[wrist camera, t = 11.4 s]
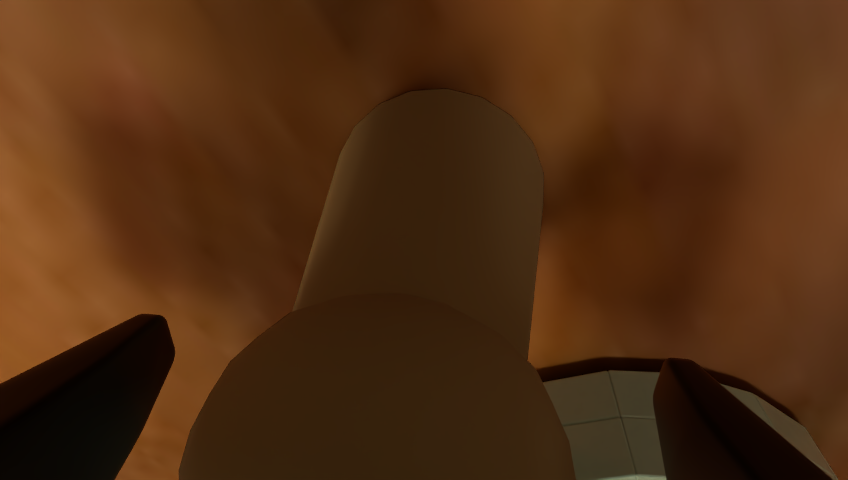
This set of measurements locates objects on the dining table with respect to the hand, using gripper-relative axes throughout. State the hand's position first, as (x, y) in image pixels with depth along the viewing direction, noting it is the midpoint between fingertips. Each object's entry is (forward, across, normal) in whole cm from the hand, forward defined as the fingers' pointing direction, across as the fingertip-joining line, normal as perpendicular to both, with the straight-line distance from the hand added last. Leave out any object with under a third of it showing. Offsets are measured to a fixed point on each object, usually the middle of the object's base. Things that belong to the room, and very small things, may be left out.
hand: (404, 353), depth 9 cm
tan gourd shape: (+7, 0, 0) cm, 7 cm away
